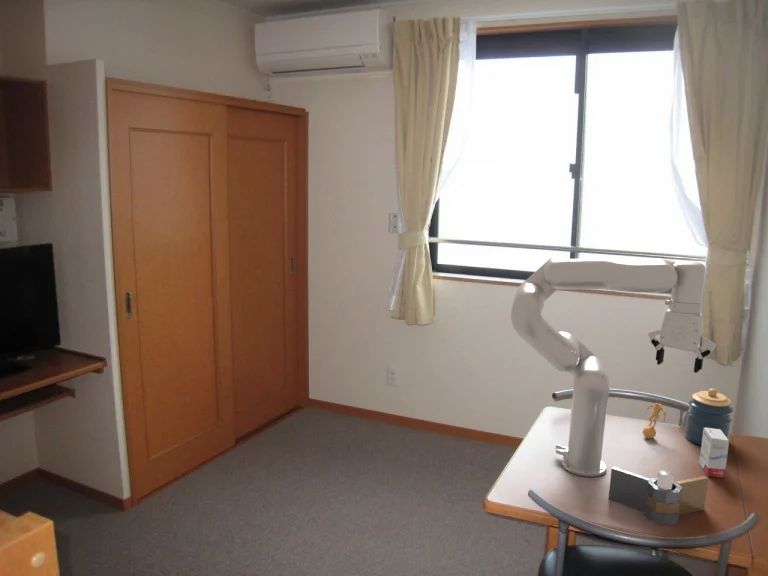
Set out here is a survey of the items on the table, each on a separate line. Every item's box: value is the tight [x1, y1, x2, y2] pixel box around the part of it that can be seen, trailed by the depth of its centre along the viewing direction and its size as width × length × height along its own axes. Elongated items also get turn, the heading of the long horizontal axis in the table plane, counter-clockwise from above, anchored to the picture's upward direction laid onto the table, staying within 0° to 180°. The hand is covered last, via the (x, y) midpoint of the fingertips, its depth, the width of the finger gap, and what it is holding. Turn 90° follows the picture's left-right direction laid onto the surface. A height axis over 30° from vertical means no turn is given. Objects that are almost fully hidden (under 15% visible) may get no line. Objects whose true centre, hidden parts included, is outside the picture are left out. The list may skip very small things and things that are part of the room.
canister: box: [684, 387, 734, 446], centre depth 206 cm, size 13×13×18 cm
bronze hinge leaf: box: [647, 475, 709, 516], centre depth 163 cm, size 17×7×9 cm, turn 109°
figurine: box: [642, 402, 667, 440], centre depth 207 cm, size 8×6×12 cm
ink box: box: [698, 428, 730, 479], centre depth 186 cm, size 9×5×12 cm, turn 168°
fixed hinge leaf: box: [608, 466, 682, 527], centre depth 164 cm, size 17×7×9 cm, turn 50°
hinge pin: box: [656, 469, 674, 490], centre depth 161 cm, size 4×4×12 cm
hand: (677, 367), depth 175 cm, fingers open, 9 cm apart
